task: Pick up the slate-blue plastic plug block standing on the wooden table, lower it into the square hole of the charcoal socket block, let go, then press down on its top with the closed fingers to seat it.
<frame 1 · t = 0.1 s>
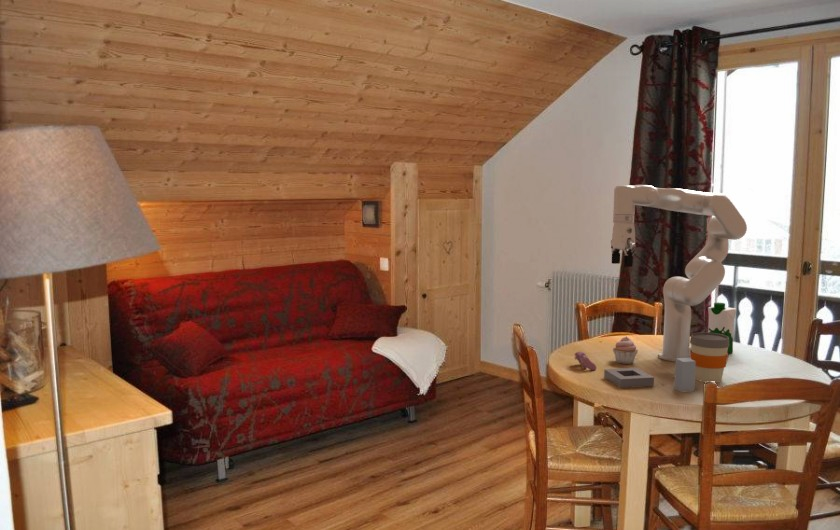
hand: (621, 265, 255), 37 cm above the table, tool pointing down, fingers open, 9 cm apart
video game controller: (584, 368, 250), on the table
reusable coffee cup: (707, 379, 236), on the table
socket: (628, 381, 232), on the table
milk carton: (719, 352, 274), on the table
plug: (684, 389, 224), on the table
cupcake: (624, 362, 258), on the table
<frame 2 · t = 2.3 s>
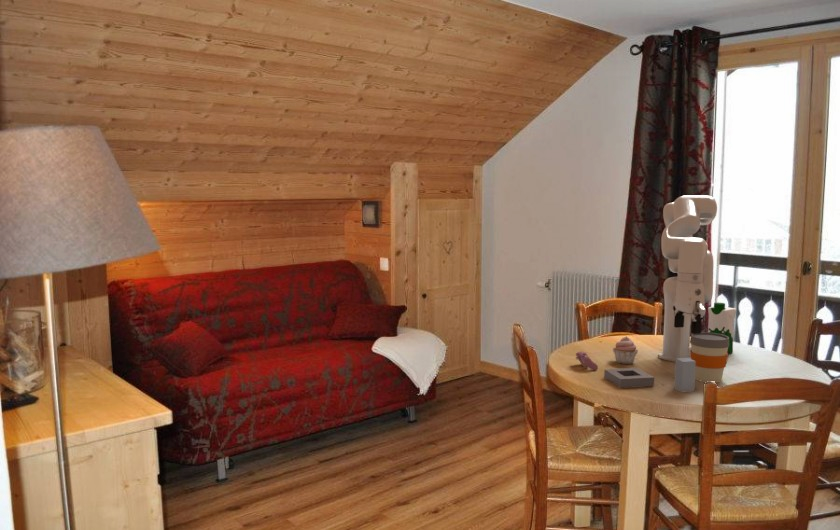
hand: (687, 330, 221), 20 cm above the table, tool pointing down, fingers open, 9 cm apart
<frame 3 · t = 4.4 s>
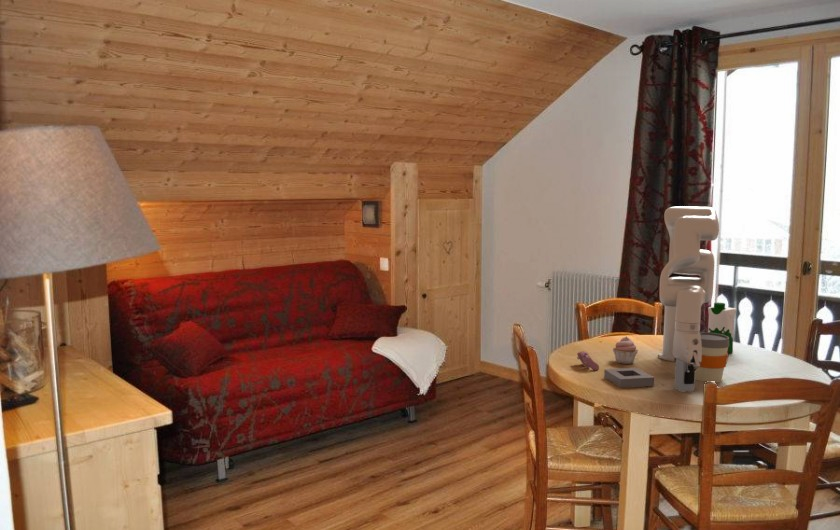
hand: (684, 380, 224), 3 cm above the table, tool pointing down, fingers closed on plug, 4 cm apart
plug: (684, 389, 224), on the table, touching gripper
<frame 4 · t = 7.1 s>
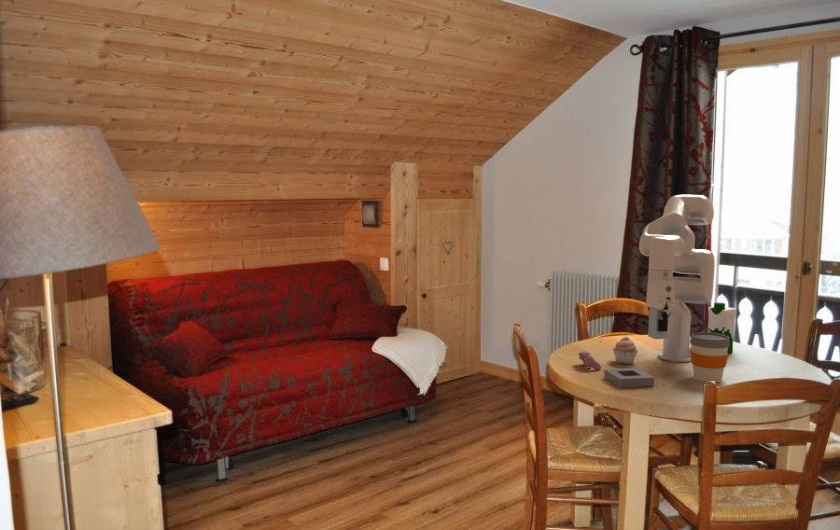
hand: (658, 328, 226), 19 cm above the table, tool pointing down, fingers closed on plug, 4 cm apart
plug: (657, 337, 226), point 16 cm above the table, touching gripper
when the fingers open (4 cm above the table, at t = 10.0 s): plug drops 1 cm, resting on socket.
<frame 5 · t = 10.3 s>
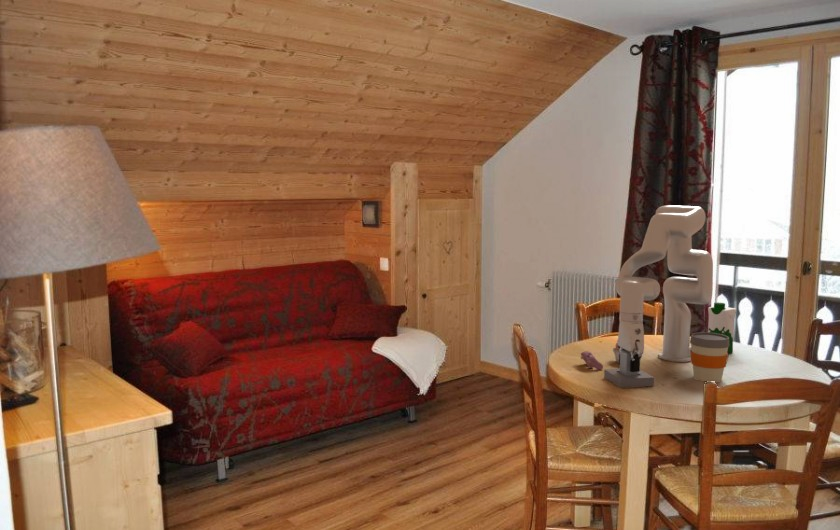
hand: (629, 368, 232), 5 cm above the table, tool pointing down, fingers open, 7 cm apart
plug: (628, 380, 232), resting on socket
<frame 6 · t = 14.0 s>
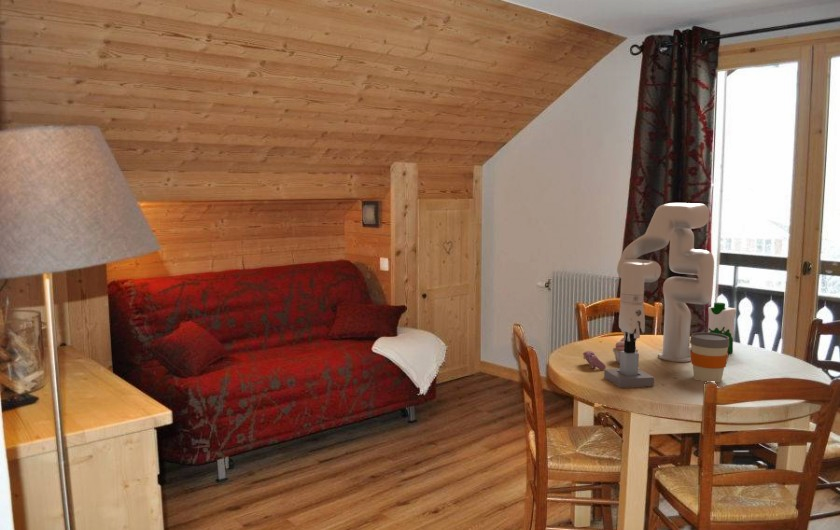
hand: (629, 352, 231), 10 cm above the table, tool pointing down, fingers closed
plug: (628, 380, 232), resting on socket, touching gripper
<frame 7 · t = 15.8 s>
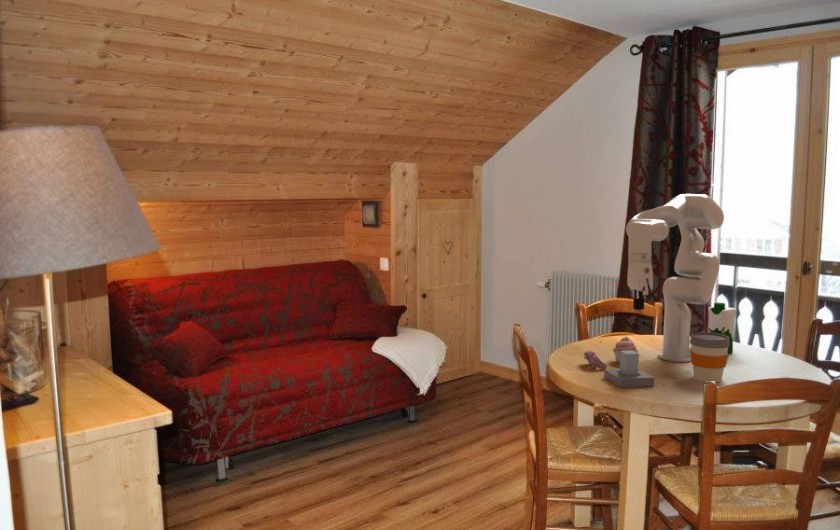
hand: (638, 309, 239), 23 cm above the table, tool pointing down, fingers closed
plug: (628, 380, 232), resting on socket
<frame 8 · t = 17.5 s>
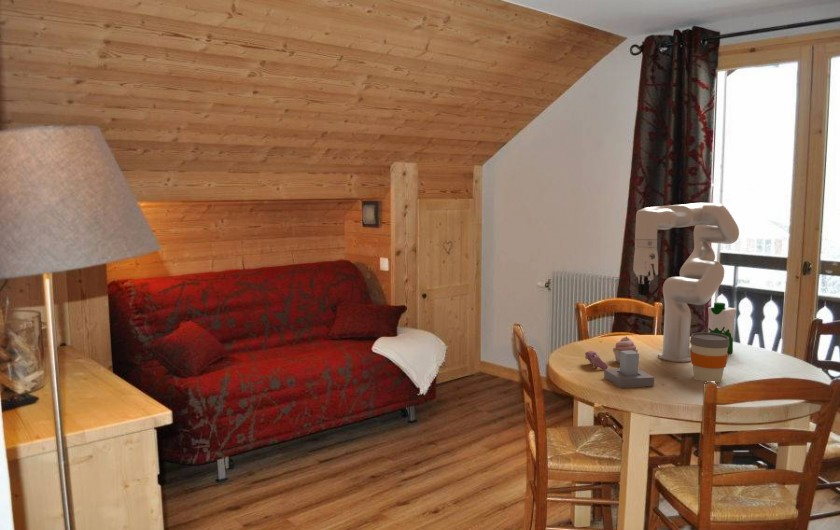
hand: (643, 294, 247), 27 cm above the table, tool pointing down, fingers closed
at the end: plug 0.0 cm off-centre on the socket, point 0.3 cm above the socket's base; plug tilted 0°; the gripper is holding nothing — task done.
